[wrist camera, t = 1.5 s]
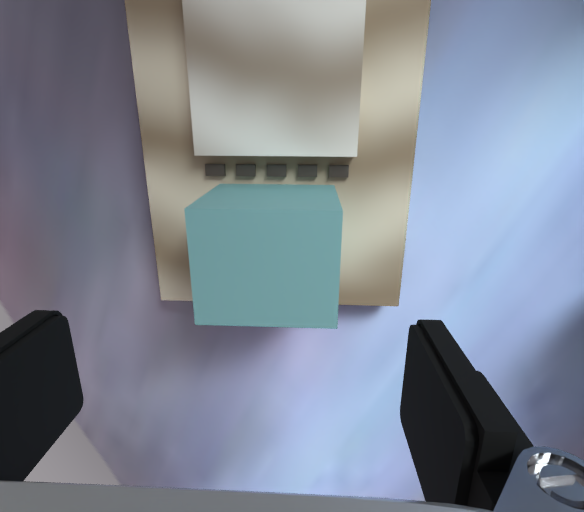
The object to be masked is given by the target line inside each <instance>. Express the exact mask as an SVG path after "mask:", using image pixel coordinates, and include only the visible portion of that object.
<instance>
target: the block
mask: <svg viewBox="0 0 584 512" xmlns="http://www.w3.org/2000/svg"><path fill="white" fill-rule="evenodd" d="M184 211H185V222H186V233H187V244H188V255H189V265H190V276H191V287H192V298H193V309H194V320H195V325H221V326H257V327H293V328H329V329H337V324H338V304H339V283H340V262H341V242H342V221H343V209H342V206H341V203H340V200H339V198H338V195H337V192H336V189H335V186H334V185H297V184H219V185H217V186H216V187H214V188H213V189H212V190H210V191H209V192H207V193H206V194H204V195H203V196H202V197H200V198H199V199H197V200H196V201H194V202H193V203H192V204H190V205H189V206H187V207H186V208H184Z"/></svg>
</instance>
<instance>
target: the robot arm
mask: <svg viewBox="0 0 584 512" xmlns="http://www.w3.org/2000/svg"><path fill="white" fill-rule="evenodd" d="M82 405H83V393H82V388H81V383H80V378H79V373H78V368H77V363H76V358H75V353H74V348H73V343H72V338H71V333H70V328H69V323H68V320H67V318H66V317H65V316H62V314H61V313H60V312H59V311H47V310H35V311H33V312H31V313H29V314H28V315H26V316H25V317H23V318H22V319H20V320H19V321H17V322H16V323H14V324H13V325H11V326H10V327H8V328H7V329H5V330H4V331H2V332H1V333H0V512H584V460H582V459H580V458H578V457H576V456H574V455H573V454H570V453H567V452H564V451H562V450H559V449H555V448H550V447H545V446H541V447H534V446H533V445H532V443H531V442H530V440H529V439H528V438H527V436H526V435H525V433H524V432H523V430H522V429H521V428H520V426H519V425H518V423H517V422H516V420H515V419H514V418H513V416H512V415H511V413H510V412H509V411H508V409H507V408H506V406H505V405H504V403H503V402H502V401H501V399H500V398H499V396H498V395H497V393H496V392H495V391H494V389H493V388H492V386H491V385H490V384H489V382H488V381H487V379H486V378H485V376H484V375H483V374H482V373H481V372H479V371H476V370H475V369H474V367H473V366H472V364H471V363H470V361H469V360H468V359H467V357H466V356H465V354H464V353H463V351H462V350H461V348H460V347H459V345H458V344H457V342H456V341H455V340H454V338H453V337H452V335H451V334H450V332H449V331H448V329H447V328H446V326H445V325H444V323H443V322H442V321H441V320H418V321H417V324H416V325H411V326H410V328H409V335H408V343H407V352H406V361H405V370H404V379H403V388H402V397H401V406H400V417H401V423H402V426H403V430H404V433H405V436H406V439H407V443H408V446H409V449H410V452H411V455H412V459H413V462H414V465H415V468H416V472H417V475H418V478H419V481H420V484H421V488H422V491H423V494H424V497H425V501H414V500H402V499H390V498H376V497H356V496H336V495H315V494H295V493H275V492H254V491H233V490H211V489H188V488H166V487H143V486H120V485H97V484H96V485H95V484H73V483H72V484H71V483H48V482H26V481H24V479H25V478H26V477H27V476H28V475H29V473H30V472H31V471H32V470H33V468H34V467H35V466H36V465H37V463H38V462H39V461H40V460H41V459H42V457H43V456H44V455H45V453H46V452H47V451H48V450H49V449H50V447H51V446H52V445H53V444H54V443H55V441H56V440H57V439H58V438H59V436H60V435H61V434H62V433H63V432H64V430H65V429H66V427H68V425H69V424H70V423H71V422H72V420H73V419H74V418H75V417H76V416H77V414H78V413H79V412H80V410H81V408H82Z"/></svg>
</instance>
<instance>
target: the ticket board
mask: <svg viewBox="0 0 584 512" xmlns="http://www.w3.org/2000/svg"><path fill="white" fill-rule="evenodd" d="M124 1H125V9H126V17H127V25H128V33H129V41H130V50H131V58H132V66H133V74H134V82H135V90H136V99H137V107H138V115H139V123H140V131H141V139H142V148H143V156H144V164H145V172H146V180H147V188H148V197H149V205H150V213H151V221H152V229H153V237H154V246H155V254H156V262H157V270H158V278H159V286H160V295H161V300H171V301H193V298H192V287H191V276H190V265H189V255H188V244H187V233H186V222H185V211H184V208H186V207H187V206H189V205H190V204H192V203H193V202H194V201H196V200H197V199H199V198H200V197H202V196H203V195H204V194H206V193H207V192H209V191H210V190H212V189H213V188H214V187H216V186H217V185H219V184H297V185H334V186H335V189H336V192H337V195H338V198H339V200H340V203H341V206H342V209H343V221H342V242H341V262H340V283H339V304H338V305H371V306H398V305H399V296H400V287H401V277H402V268H403V258H404V249H405V240H406V230H407V221H408V212H409V202H410V193H411V184H412V174H413V165H414V155H415V146H416V137H417V127H418V118H419V109H420V99H421V90H422V80H423V71H424V62H425V52H426V43H427V34H428V24H429V15H430V6H431V0H124Z"/></svg>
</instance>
